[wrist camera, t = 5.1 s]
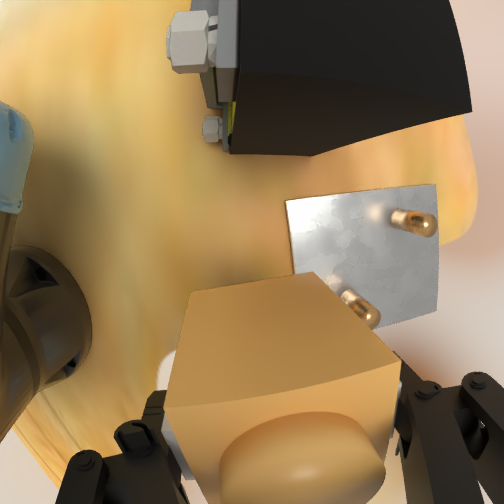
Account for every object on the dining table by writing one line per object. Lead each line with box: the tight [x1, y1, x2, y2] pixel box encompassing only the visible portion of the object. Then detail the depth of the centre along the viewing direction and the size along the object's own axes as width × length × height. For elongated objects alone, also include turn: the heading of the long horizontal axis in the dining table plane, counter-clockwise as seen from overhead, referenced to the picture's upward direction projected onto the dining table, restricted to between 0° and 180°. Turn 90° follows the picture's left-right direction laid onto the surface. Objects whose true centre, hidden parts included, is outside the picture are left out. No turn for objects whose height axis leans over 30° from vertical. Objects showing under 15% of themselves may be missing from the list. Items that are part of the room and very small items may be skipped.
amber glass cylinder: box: [340, 289, 381, 330], centre depth 27 cm, size 2×2×5 cm
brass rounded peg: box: [391, 209, 438, 238], centre depth 25 cm, size 2×2×5 cm
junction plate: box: [285, 184, 439, 330], centre depth 29 cm, size 16×14×1 cm
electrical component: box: [166, 0, 472, 156], centre depth 15 cm, size 18×10×20 cm, turn 0°
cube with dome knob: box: [163, 271, 401, 504], centre depth 11 cm, size 6×6×10 cm
